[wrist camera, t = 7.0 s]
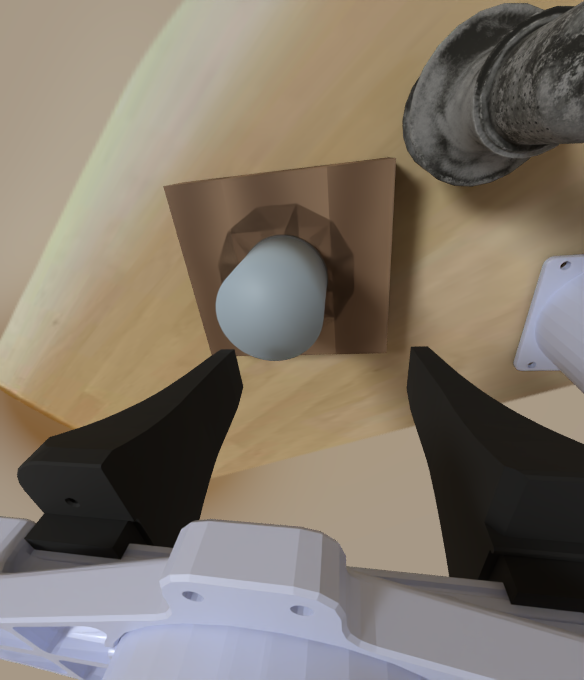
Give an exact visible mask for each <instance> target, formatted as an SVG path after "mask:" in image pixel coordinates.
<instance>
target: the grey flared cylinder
mask: <svg viewBox="0 0 584 680" xmlns="http://www.w3.org/2000/svg"><path fill="white" fill-rule="evenodd" d="M403 138H404V141H405V144H406V148H407V151H408V152H409V154H410V155H411V157H412V158H413V160H414V161H415V162H416V163H417V164H418V165H420V166H421V167H422V168H424V169H425V170H426V171H428V172H429V173H430V174H431V175H433V176H434V177H435V178H436V179H438V180H440V181H443V182H446V183H448V184H451V185H454V186H476V185H481V184H485V183H490V182H492V181H495V180H497V179H499V178H501V177H503V176H505V175H507V174H509V173H511V172H512V171H514V170H515V169H516V168H518V167H519V166H520V165H522V164H523V163H524V162H526V161H527V160H528V159H529V158H530V157H532V156H537V155H540V154H542V153H544V152H546V151H548V150H550V149H553V148H555V147H556V146H558V145H559V144H571V143H584V1H583V2H582V3H580V4H578V5H577V6H556V7H553V8H550V9H546V10H543V9H540V8H538V7H535V6H533V5H530V4H528V3H504V4H501V5H498V6H495V7H492V8H489V9H486V10H483V11H480V12H479V13H477V14H475V15H474V16H472V17H471V18H469V19H468V20H466V21H465V22H463V23H462V24H460V25H458V26H457V27H456V28H455V29H454V30H453V31H452V32H451V33H450V34H449V36H448V37H447V38H446V39H445V40H444V41H443V42H442V43H441V44H440V45H439V46H438V47H437V49H436V50H435V52H434V53H433V55H432V56H431V58H430V59H429V61H428V62H427V64H426V65H425V67H424V68H423V71H422V73H421V75H420V77H419V78H418V80H417V81H416V83H415V84H414V86H413V87H412V90H411V92H410V95H409V97H408V100H407V102H406V105H405V110H404V116H403Z"/></svg>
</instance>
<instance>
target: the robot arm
mask: <svg viewBox="0 0 584 680" xmlns="http://www.w3.org/2000/svg"><path fill="white" fill-rule="evenodd" d="M566 261H567V263H566V265H565V266H564V267H562V268H560V266H561V264H562V263H563V262H566ZM531 362H533V363H532V364H530V365H528V364H529V363H531ZM513 365H514V367H515V368H516V369H517V370H520V371H547V370H561V371H562V372H563V373H564V374H565V375H566V376H567V377H568V378H569V379H570V380H571V381H572V382H573V383H574V384H575V385H576V386H577V387H578V388H579V389H580V390H581V391H582V392H583V393H584V254H578V255H563V256H553V257H550V258H548V259H547V260H546V261H545V262H544V264H543V266H542V269H541V273H540V276H539V279H538V283H537V286H536V289H535V292H534V296H533V299H532V302H531V306H530V309H529V312H528V316H527V319H526V322H525V326H524V329H523V332H522V336H521V339H520V342H519V346H518V349H517V352H516V356H515V359H514V362H513ZM242 390H243V384H242V379H241V375H240V371H239V367H238V362H237V358H236V354H235V349H221V350H219V351H218V352H216V353H215V354H213V355H212V356H210V357H209V358H208V359H206V360H205V361H204V362H202V363H201V364H200V365H198V366H197V367H195V368H194V369H193V370H191V371H190V372H189V373H187V374H186V375H184V376H183V377H181V378H180V379H178V380H177V381H175V382H174V383H172V384H171V385H170V386H168V387H166V388H165V389H163V390H162V391H160V392H158V393H157V394H155V395H153V396H151V397H149V398H148V399H146V400H144V401H142V402H140V403H138V404H136V405H134V406H132V407H129V408H127V409H125V410H123V411H121V412H119V413H117V414H114V415H112V416H110V417H107V418H105V419H102V420H100V421H97V422H94V423H92V424H89V425H86V426H83V427H80V428H77V429H74V430H71V431H68V432H65V433H62V434H59V435H55V436H52V437H49V438H48V439H47V440H46V441H45V442H44V443H43V444H42V445H41V446H40V447H39V448H38V449H37V450H36V451H35V452H34V453H33V454H32V455H31V456H30V457H29V458H28V459H27V460H26V461H25V462H24V463H23V464H22V465H21V466H20V467H19V468H18V473H17V477H18V480H19V483H20V485H21V486H22V488H23V489H24V491H25V492H26V493H27V494H28V495H29V496H30V497H31V499H32V500H33V501H34V502H35V503H36V504H37V505H38V507H39V508H40V509H41V510H42V511H43V512H44V515H43V516H42V517H41V518H40V520H39V521H38V522H37V523H35V522H33V521H31V520H28V519H24V518H23V519H22V518H13V517H3V516H0V659H2V660H7V661H11V662H15V663H19V664H23V665H27V666H31V667H35V668H39V669H42V670H47V671H50V672H54V673H57V674H61V675H65V676H68V677H72V678H76V679H79V680H584V444H582V443H580V442H577V441H575V440H573V439H570V438H568V437H566V436H563V435H561V434H559V433H557V432H554V431H552V430H550V429H548V428H546V427H543V426H542V425H540V424H538V423H536V422H534V421H532V420H530V419H528V418H526V417H524V416H522V415H520V414H518V413H516V412H515V411H513V410H511V409H509V408H508V407H506V406H505V405H503V404H501V403H500V402H498V401H496V400H495V399H493V398H492V397H490V396H489V395H487V394H486V393H484V392H483V391H481V390H480V389H479V388H477V387H476V386H474V385H473V384H472V383H470V382H469V381H468V380H466V379H465V378H464V377H463V376H461V375H460V374H459V373H458V372H456V371H455V370H454V369H453V368H452V367H450V366H449V365H448V364H447V363H446V362H445V361H444V360H442V359H441V358H440V357H439V356H438V355H437V354H436V353H435V352H433V351H432V350H431V349H430V348H429V347H428V346H426V347H411V351H410V361H409V370H408V380H407V393H408V399H409V404H410V410H411V413H412V416H413V419H414V423H415V426H416V429H417V432H418V435H419V438H420V441H421V444H422V447H423V450H424V453H425V456H426V459H427V463H428V467H429V470H430V475H431V480H432V484H433V489H434V493H435V499H436V504H437V509H438V514H439V519H440V525H441V530H442V536H443V542H444V547H445V553H446V559H447V565H448V572H449V577H444V576H435V575H426V574H416V573H406V572H397V571H387V570H378V569H367V568H358V567H349V566H346V555H345V554H344V552H343V550H342V548H341V546H340V544H339V543H338V542H337V541H336V540H334V539H332V538H331V537H329V536H328V535H326V534H324V533H323V532H321V531H317V530H312V529H308V528H304V527H298V526H286V525H274V524H262V523H251V522H239V521H227V520H216V519H207V520H199V519H200V515H201V511H202V507H203V503H204V499H205V496H206V492H207V489H208V485H209V481H210V478H211V475H212V471H213V468H214V465H215V462H216V459H217V456H218V453H219V451H220V448H221V446H222V444H223V441H224V439H225V437H226V434H227V432H228V430H229V427H230V425H231V423H232V420H233V418H234V415H235V413H236V411H237V408H238V405H239V401H240V398H241V394H242Z"/></svg>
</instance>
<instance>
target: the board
mask: <svg viewBox="0 0 584 680" xmlns="http://www.w3.org/2000/svg"><path fill="white" fill-rule="evenodd" d="M395 167H396V158H390V157H388V158H380V159H372V160H364V161H355V162H347V163H339V164H331V165H323V166H314V167H306V168H298V169H290V170H282V171H274V172H265V173H257V174H249V175H241V176H233V177H224V178H216V179H208V180H200V181H192V182H183V183H178V184H173V185H168V186H163V187H164V190H165V194H166V197H167V201H168V204H169V208H170V211H171V215H172V218H173V222H174V225H175V228H176V232H177V235H178V239H179V242H180V246H181V249H182V253H183V256H184V260H185V263H186V267H187V270H188V274H189V277H190V281H191V284H192V288H193V291H194V295H195V298H196V302H197V305H198V309H199V312H200V316H201V319H202V322H203V326H204V329H205V333H206V336H207V340H208V343H209V347H210V350H211V354H212V355H213V354H215V353H216V352H218V351H219V350H221V349H235V354H236V356H250V355H248V354H246V353H245V352H243V351H241V350H240V349H238V348H237V347H236V346H235V345H234V344H233V343H232V342H231V341H230V340H229V339H228V338H227V337H226V335H225V334H224V332H223V331H222V329H221V327H220V325H219V322H218V319H217V314H216V298H217V294H218V291H219V289H220V287H221V285H222V283H223V282H224V280H225V279H226V278H227V277H228V276H229V275H230V273H231V272H232V271H233V270H234V269H235V268H236V267H237V266H238V265H239V263H240V262H241V261H242V260H243V259H244V258H245V257H246V255H247V254H248V252H249V251H250V250H251V249H252V248H253V246H255V245H256V244H257V243H258V242H260V241H261V240H263V239H265V238H267V237H270V236H273V235H292V236H296V237H299V238H301V239H303V240H305V241H307V242H308V243H310V244H311V245H312V246H314V247H315V248H316V249H317V251H318V252H319V253H320V254H321V256H322V258H323V260H324V262H325V264H326V267H327V272H328V286H327V291H326V298H325V309H324V319H323V326H322V329H321V332H320V334H319V336H318V338H317V340H316V341H315V343H314V344H313V345H312V346H311V347H310V348H309V349H308V350H307V351H305V352H304V353H302V354H301V355H313V354H363V353H386V348H387V328H388V308H389V288H390V268H391V248H392V227H393V207H394V187H395Z"/></svg>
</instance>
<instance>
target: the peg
mask: <svg viewBox="0 0 584 680" xmlns="http://www.w3.org/2000/svg"><path fill="white" fill-rule="evenodd" d="M327 286H328V272H327V267H326V264H325V262H324V260H323V258H322V256H321V254H320V253H319V252H318V251H317V249H316V248H315V247H314V246H312V245H311V244H310V243H308V242H307V241H305V240H303V239H301V238H299V237H296V236H292V235H273V236H270V237H267V238H265V239H263V240H261V241H260V242H258V243H257V244H256V245H255V246H253V248H252V249H251V250H250V251H249V252H248V254H247V255H246V257H245V258H244V259H243V260H242V261H241V262H240V263H239V265H238V266H237V267H236V268H235V269H234V270H233V271H232V272H231V273H230V275H229V276H228V277H227V278H226V279H225V280H224V282H223V283H222V285H221V287H220V289H219V291H218V294H217V298H216V314H217V319H218V322H219V325H220V327H221V329H222V331H223V332H224V334H225V335H226V337H227V338H228V339H229V340H230V341H231V342H232V343H233V344H234V345H235V346H236V347H237V348H238V349H240V350H241V351H243V352H245V353H246V354H248V355H250V356H253V357H256V358H259V359H263V360H270V361H280V360H287V359H291V358H294V357H296V356H298V355H301V354H302V353H304V352H305V351H307V350H308V349H309V348H310V347H311V346H312V345H313V344H314V343H315V341H316V340H317V338H318V336H319V334H320V332H321V329H322V326H323V319H324V309H325V298H326V291H327Z"/></svg>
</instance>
